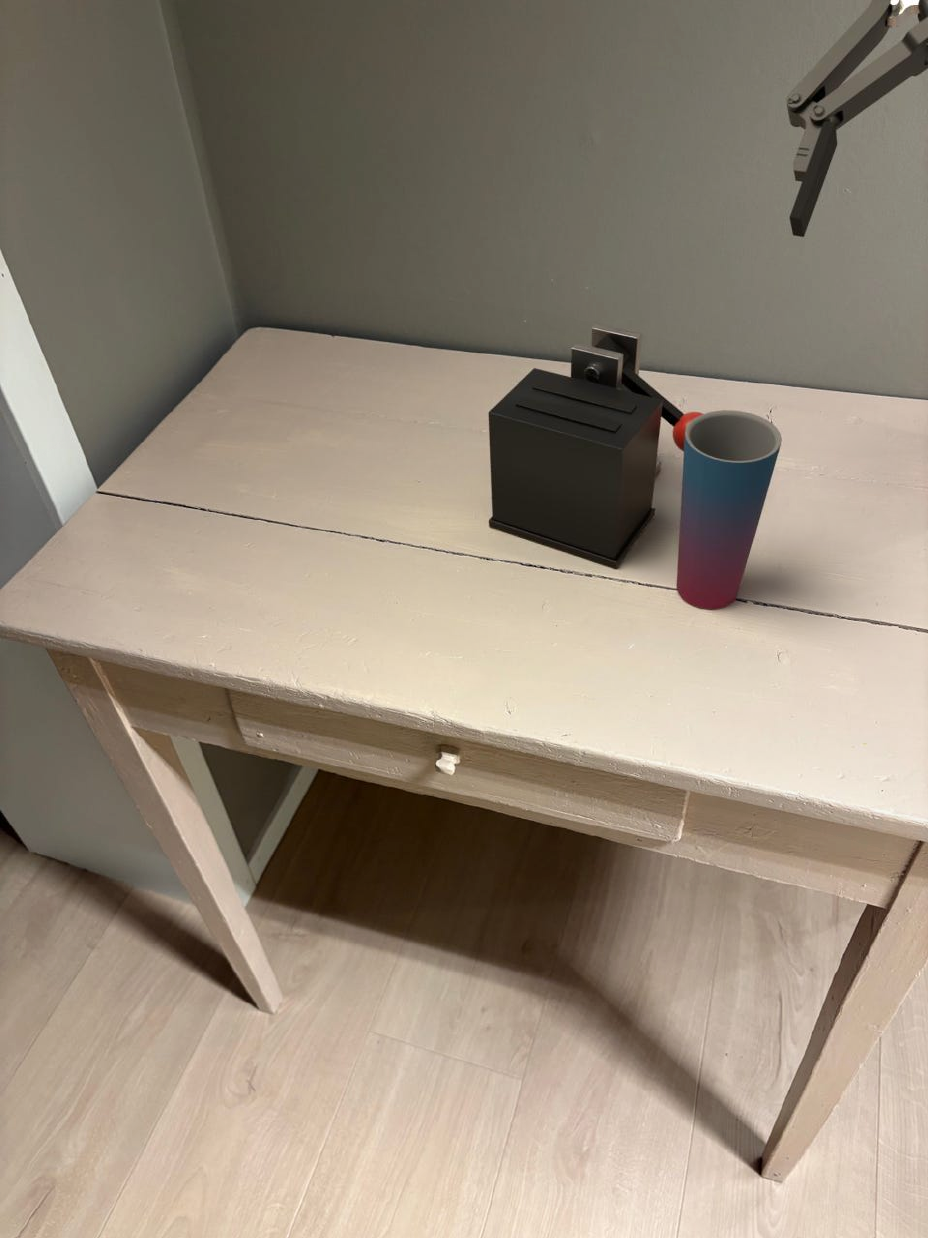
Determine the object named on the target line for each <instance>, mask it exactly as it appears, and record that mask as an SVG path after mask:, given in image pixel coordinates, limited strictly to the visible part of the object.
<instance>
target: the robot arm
mask: <svg viewBox="0 0 928 1238" xmlns="http://www.w3.org/2000/svg"><path fill="white" fill-rule="evenodd" d="M910 15H917V20H918V23H917V24H915V25H914V26H913V27H912V28H910V29H909V30H908V31H907V32H906V33H905V34H904V36H903V38H902V39H901V40H900V41H899V42H897V44H895V45H893V46H892V47H891V48H890V49H889V50H887V51H886V52H884V53H883V54H881V55H880V56H879V57H878V58H876V59H875V60H873V61H872V62H871V63H869V64H868V65H867V66H866V67H863V69H862V70H860V71H858V72H857V73H856V74H855V75H853V76H852V77H851V78H849V76H851V74H853V72H854V71H855V70H856V69H857V68H859V66H860V65H861V63H863V62H864V61H865V60H866V58H868V57H869V55H870V54H871V53H872V52H873V51H874V50H875V48H877V47H878V46H879V44H880V43H881V42H882V41H883V40H884V38H885V36H886V35H887V33H888V31H889V29H896V28H898V27H899V25H900V24H901V23H902V22H903V21H904V19H905V18H907V17H908V16H910ZM927 70H928V0H871V1H870V3H869V4H868V7H867V8H866V9H865V10H864V11H863V12H862V13H861V15H860V16H859V17H858V18H857V19H856V20H855V21H854V22H853V23H852V24H851V25H850V27H849V28H848V29H847V30H846V31H845V32H844V33H843V35H841V37H840V38H839V39H838V40H837V41H836V42H835V43H834V44H833V45H832V46H831V47H830V48H829V50H828V51H827V52H825V54H824V55H823V56H822V57H821V58H820V60H818V61H817V63H816V64H815V65H814V66H813V67H812V68H811V70H809V71H808V73H806V75H805V76H804V77H803V78H802V79H801V80H800V81H799V83H798V84H797V85H796V86H795V87H794V88H793V89H792V90H791V92H789V93H788V95H787V97H786V102H785V103H786V108H787V114H788V120H789V124H790V125H791V126H792V127H794V128H802V129H803V130H804V131H803V135H802V136H801V137H802V138H801V140H800V143H799V146H798V148H797V151H796V154H795V157H794V160H793V164H792V167H793V175H794V181H795V182H800V183H801V184H800V186H799V190H798V192H797V195H796V198H795V200H794V204H793V206H792V209H791V212H790V215H789V217H788V218H789V222H790V227H791V232H792V236H794V237H799V238H800V237H801V238H805V235H806V232H807V230H808V227H809V225H810V221H811V218H812V215H813V213H814V211H815V207H816V206H817V202H818V200H819V196H820V194H821V191H822V188H823V186H824V183H825V180H826V178H827V175H828V172H829V169H830V166H831V163H832V161H833V158H834V156H835V153H836V150H837V147H838V136H837V135H838V134H837V131H838V130H839V129H840V128H842V127H843V126H845V125H846V124H847V123H849V122H850V121H852V120H853V119H854V118H856V117H857V116H859V115H860V114H861V113H862V112H864V111H865V110H867V109H868V108H869V107H871V106H872V105H873V104H875V103H877V102H878V101H879V100H880V99H882V98H883V97H885V96H886V95H887V94H889V93H891V91H892V90H893V91H894V89H895V88H897V87H898V86H900V85H901V84H903V83H904V82H905V81H907V80H908V79H910V78H911V77H918V76H919V75H921V74H923V73H924V72H925V71H927ZM848 78H849V79H848ZM847 79H848V80H847Z"/></svg>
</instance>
